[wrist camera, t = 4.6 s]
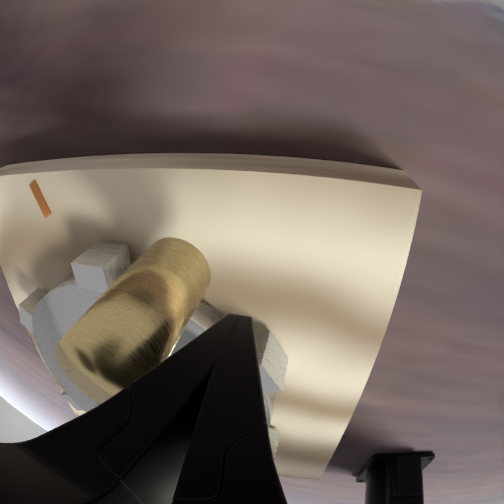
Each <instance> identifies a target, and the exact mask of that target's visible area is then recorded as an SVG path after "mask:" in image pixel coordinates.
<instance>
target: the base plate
mask: <svg viewBox="0 0 504 504" xmlns="http://www.w3.org/2000/svg"><path fill="white" fill-rule="evenodd" d="M421 194H422V190H421V189H420V188H419V186H418V185H417V184H416V183H415V182H414V181H413V180H412V179H411V178H410V177H409V176H408V175H407V174H406V173H405V172H404V171H403V170H398V169H392V168H385V167H378V166H371V165H363V164H355V163H347V162H338V161H328V160H318V159H307V158H295V157H282V156H266V155H247V154H219V153H146V154H119V155H100V156H85V157H73V158H61V159H51V160H42V161H33V162H25V163H17V164H10V165H7V166H4V167H2V168H0V265H1V268H2V271H3V273H4V276H5V279H6V281H7V284H8V287H9V289H10V292H11V294H12V297H13V299H14V301H15V304H16V306H17V308H18V311H19V304H20V303H21V302H22V301H24V300H25V299H26V298H27V297H28V296H29V295H30V294H31V293H32V292H34V291H35V290H36V289H37V288H38V287H40V288H41V289H42V290H43V291H45V292H46V293H48V292H49V291H50V290H52V289H53V288H54V287H55V286H56V285H57V284H58V283H59V282H60V281H62V280H63V279H64V278H65V277H66V276H67V275H69V274H71V273H72V272H73V270H72V266H71V262H72V261H74V260H75V259H76V258H77V257H79V256H80V255H81V254H82V253H84V252H85V251H86V250H87V249H89V248H90V247H91V246H92V245H94V244H95V243H96V242H104V243H114V244H124V245H128V246H129V251H130V256H131V261H132V264H133V263H134V262H135V261H136V260H137V259H138V258H139V257H140V256H141V255H142V254H143V253H144V252H145V251H146V250H147V249H148V248H149V247H150V246H151V245H152V244H153V243H154V242H155V241H157V240H159V239H162V238H166V237H174V238H179V239H183V240H185V241H187V242H189V243H191V244H192V245H194V246H195V247H196V248H197V249H198V250H199V251H200V252H201V253H202V254H203V255H204V257H205V258H206V260H207V262H208V264H209V267H210V270H211V282H210V285H209V287H208V289H207V291H206V293H205V295H204V296H203V298H202V300H201V302H203V303H204V304H206V305H207V306H209V307H210V308H212V309H213V310H215V311H216V312H217V313H218V314H220V315H221V316H222V317H224V316H226V315H227V314H229V313H235V314H241V315H247V316H251V317H252V318H253V323H254V330H255V335H259V334H262V333H265V332H269V331H270V332H271V333H272V335H273V336H274V337H275V339H276V340H277V342H278V343H279V345H280V346H281V348H282V349H283V351H284V352H285V353H286V355H287V356H288V358H289V359H288V364H287V369H286V375H285V380H284V385H283V390H282V392H277V393H275V404H274V409H273V414H272V418H271V423H270V427H269V428H271V429H274V430H276V431H278V432H281V433H280V438H279V443H278V447H277V452H276V457H275V459H274V462H275V466H276V470H277V473H278V475H279V476H286V477H295V478H304V479H314V480H319V479H320V477H321V476H322V474H323V472H324V470H325V468H326V467H327V465H328V463H329V461H330V459H331V457H332V455H333V453H334V452H335V450H336V448H337V446H338V444H339V442H340V440H341V438H342V436H343V434H344V432H345V429H346V427H347V425H348V423H349V421H350V419H351V417H352V414H353V412H354V410H355V408H356V406H357V403H358V401H359V399H360V396H361V394H362V392H363V389H364V387H365V385H366V382H367V380H368V377H369V375H370V372H371V370H372V367H373V365H374V362H375V359H376V357H377V354H378V351H379V349H380V346H381V343H382V340H383V337H384V335H385V332H386V329H387V326H388V323H389V320H390V317H391V314H392V311H393V307H394V304H395V301H396V298H397V294H398V291H399V287H400V284H401V280H402V277H403V273H404V270H405V266H406V262H407V258H408V254H409V250H410V246H411V242H412V238H413V233H414V229H415V224H416V219H417V215H418V210H419V204H420V199H421ZM27 330H28V329H27ZM28 332H29V334H30V336H31V338H32V340H33V342H34V344H35V346H36V348H37V350H38V352H39V349H38V347H37V344H36V341H35V337H34V333H32V332H31V331H30V330H28ZM39 354H40V352H39ZM40 356H41V354H40ZM41 358H42V356H41ZM42 360H43V358H42ZM43 361H44V360H43ZM44 363H45V362H44ZM45 365H46V364H45ZM46 367H47V366H46ZM47 369H48V367H47ZM48 370H49V369H48ZM49 372H50V371H49ZM50 374H51V372H50ZM51 375H52V374H51ZM52 377H53V375H52ZM53 379H54V381H55V382H56V384H57V386H58V387H59V389H60V390H61V392H62V393H63V391H64V389H63V388H62V387H61V386H60V385H59V383H58V382H57V381H56V379H55V378H54V377H53ZM67 402H68V401H67ZM68 403H69V402H68ZM69 405H70V406H71V408H72V409H73V411H74V412H75V414H77V415H79V416H80V415H82V414H84V413H86V411H78V410H76V409H75V408H74V407H73V406H72V405H71V404H70V403H69Z"/></svg>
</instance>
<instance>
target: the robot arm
mask: <svg viewBox="0 0 504 504" xmlns="http://www.w3.org/2000/svg"><path fill="white" fill-rule="evenodd" d="M434 458H435V454H434V453H426V454H405V455H375V456H373V457H372V458H371V459H370V461H369V462H368V463H367V465H366V466H365V467H364V469H363V470H362V471H361V472H360V474H359V475H358V476H357V477H356V482H366V493H365V504H424V495H423V474H422V470H423V469H424V468H425V467H426V466H427V465H428V464H429V463H430V462H431V461H432V460H433V459H434ZM0 504H287V501H286V498H285V495H284V492H283V489H282V486H281V483H280V480H279V477H278V473H277V470H276V466H275V462H274V459H273V454H272V448H271V443H270V438H269V430H268V424H267V417H266V410H265V403H264V396H263V389H262V382H261V374H260V367H259V360H258V353H257V345H256V338H255V330H254V323H253V318H252V317H251V316H247V315H241V314H235V313H229V314H227V315H226V316H224V317H223V318H222V319H220V320H219V321H218V322H216V323H215V324H214V325H212V326H211V327H209V328H208V329H207V330H205V331H204V332H203V333H201V334H200V335H199V336H197V337H196V338H195V339H193V340H192V341H190V342H189V343H188V344H186V345H185V346H184V347H182V348H181V349H179V350H178V351H177V352H175V353H174V354H172V355H171V356H170V357H168V358H167V359H165V360H164V361H163V362H161V363H160V364H158V365H157V366H156V367H154V368H153V369H151V370H150V371H149V372H147V373H146V374H144V375H143V376H141V377H140V378H139V379H137V380H136V381H134V382H133V383H131V384H130V385H129V387H126V388H124V389H123V390H121V391H120V392H118V393H117V394H115V395H114V396H112V397H111V398H109V399H108V400H106V401H105V402H103V403H101V404H100V405H98V406H97V407H95V408H93V409H91V410H89V411H88V412H86V413H84V414H82V415H80V416H79V417H77V418H75V419H73V420H71V421H69V422H67V423H65V424H63V425H61V426H59V427H57V428H55V429H53V430H51V431H49V432H47V433H45V434H43V435H40V436H38V437H36V438H34V439H31V440H27V441H23V442H18V443H0Z"/></svg>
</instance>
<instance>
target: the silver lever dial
mask: <svg viewBox="0 0 504 504" xmlns="http://www.w3.org/2000/svg"><path fill="white" fill-rule="evenodd" d="M71 266H72V270H73V272H72V273H71V274H69V275H67V276H66V277H65V278H64V279H63V280H62V281H60V282H59V283H58V284H57V285H56V286H55V287H54V288H53V289H52V290H50V291H49V292H48V293H46V292H45V291H43V290H42V289H41V288H40V287H38V288H37V289H36V290H35V291H34V292H32V293H31V294H30V295H29V296H28V297H27V298H26V299H25V300H24V301H22V302H21V303H20V304H19V314H20V323H22V324H23V325H24V326H25V327H26V328H27V329H28V330H30V331H31V332H32V333H34V337H35V341H36V344H37V347H38V349H39V352H40V354H41V356H42V358H43V360H44V362H45V364H46V366H47V367H48V369H49V371H50V372H51V374H52V375H53V377H54V378H55V379H56V381H57V382H58V383H59V385H60V386H61V387H62V388H63V389H64V391H63V393H62V394H61V395H62V396H63V397H64V398H65V399H66V400H67V401H68V402H69V403H70V404H71V405H72V406H73V407H74V408H75V409H76V410H78V411H86V412H88V411H89V410H91V409H93V408H95V407H97V406H98V405H100V404H101V403H103V402H105V401H106V400H108V399H109V398H111V397H112V396H114V395H115V394H117V393H118V392H120V391H121V390H123V389H124V388H126V387H129V385H130V384H131V383H133V382H134V381H136V380H137V379H139V378H140V377H141V376H143V375H144V374H146V373H147V372H149V371H150V370H151V369H153V368H154V367H156V366H157V365H158V364H160V363H161V362H163V361H164V360H165V359H167V358H168V357H170V356H171V355H172V354H174V353H175V352H177V351H178V350H179V349H181V348H182V347H184V346H185V345H186V344H188V343H189V342H190V341H192V340H193V339H195V338H196V337H197V336H199V335H200V334H201V333H203V332H204V331H205V330H207V329H208V328H209V327H211V326H212V325H214V324H215V323H216V322H218V321H219V320H220V319H222V318H223V317H222V316H221V315H220V314H218V313H217V312H216V311H215V310H213V309H212V308H210V307H209V306H207V305H206V304H204V303H203V302H201V300H202V298H203V296H204V295H205V293H206V291H207V289H208V287H209V285H210V282H211V270H210V267H209V264H208V262H207V260H206V258H205V257H204V255H203V254H202V253H201V252H200V251H199V250H198V249H197V248H196V247H195V246H194V245H192V244H191V243H189V242H187V241H185V240H183V239H179V238H174V237H166V238H162V239H159V240H157V241H155V242H154V243H153V244H152V245H151V246H150V247H149V248H148V249H147V250H146V251H145V252H144V253H143V254H142V255H141V256H140V257H139V258H138V259H137V260H136V261H135V262H134V263H133V264H132V261H131V256H130V251H129V246H128V245H124V244H114V243H104V242H96V243H95V244H94V245H92V246H91V247H90V248H89V249H87V250H86V251H85V252H84V253H82V254H81V255H80V256H79V257H77V258H76V259H75V260H74V261H72V262H71ZM255 338H256V345H257V353H258V360H259V367H260V374H261V382H262V389H263V396H264V403H265V410H266V417H267V424H268V430H269V438H270V443H271V448H272V454H273V459H275V457H276V452H277V447H278V443H279V438H280V433H281V432H278V431H276V430H274V429H271V428H269V427H270V423H271V418H272V414H273V409H274V404H275V393H277V392H282V390H283V385H284V380H285V375H286V369H287V364H288V359H289V358H288V356H287V355H286V353H285V352H284V351H283V349H282V348H281V346H280V345H279V343H278V342H277V340H276V339H275V337H274V336H273V335H272V333H271V332H270V331H269V332H265V333H262V334H259V335H255Z"/></svg>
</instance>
